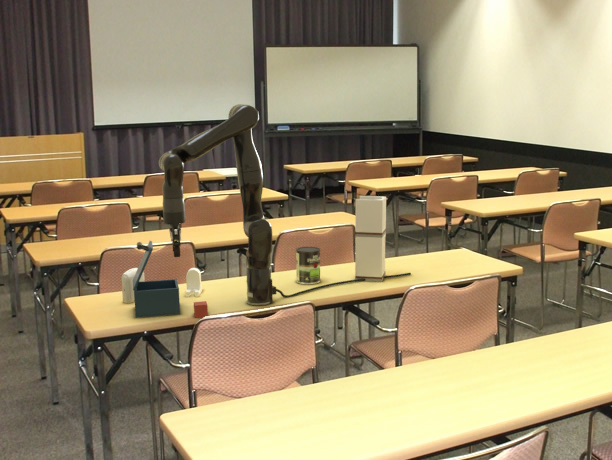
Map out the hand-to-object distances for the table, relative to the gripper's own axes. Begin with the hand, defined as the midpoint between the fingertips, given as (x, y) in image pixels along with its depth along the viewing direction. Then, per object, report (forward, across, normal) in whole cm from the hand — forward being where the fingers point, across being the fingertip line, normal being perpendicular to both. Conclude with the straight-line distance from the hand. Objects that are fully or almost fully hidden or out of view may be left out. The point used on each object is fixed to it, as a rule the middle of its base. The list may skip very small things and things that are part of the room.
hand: (176, 254), depth 271 cm
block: (+22, -3, -7) cm, 24 cm away
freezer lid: (+5, +6, +12) cm, 14 cm away
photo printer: (+22, +23, +16) cm, 36 cm away
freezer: (+22, +6, +8) cm, 25 cm away
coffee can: (+24, +32, -55) cm, 68 cm away
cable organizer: (+23, +27, -7) cm, 36 cm away
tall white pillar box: (+24, +30, -82) cm, 90 cm away
